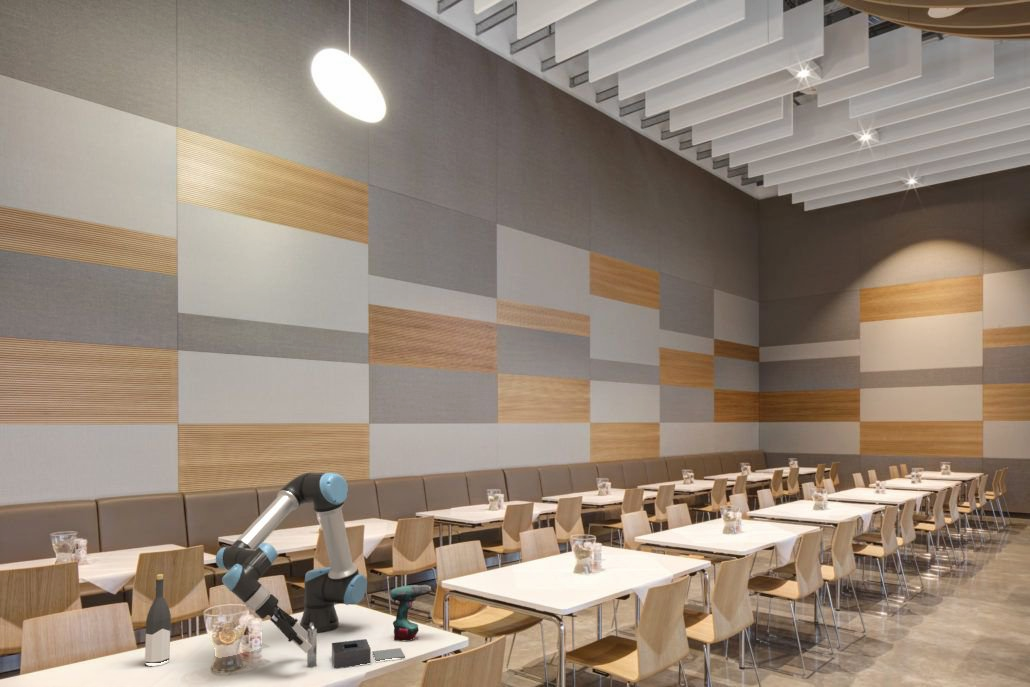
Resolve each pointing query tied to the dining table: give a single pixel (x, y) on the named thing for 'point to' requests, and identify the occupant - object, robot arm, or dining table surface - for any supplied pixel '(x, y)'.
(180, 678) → the dining table surface
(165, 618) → the wine bottle
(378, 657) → the mat
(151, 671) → the dining table surface
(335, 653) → the chuck block
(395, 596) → the power drill
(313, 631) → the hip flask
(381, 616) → the dining table surface
